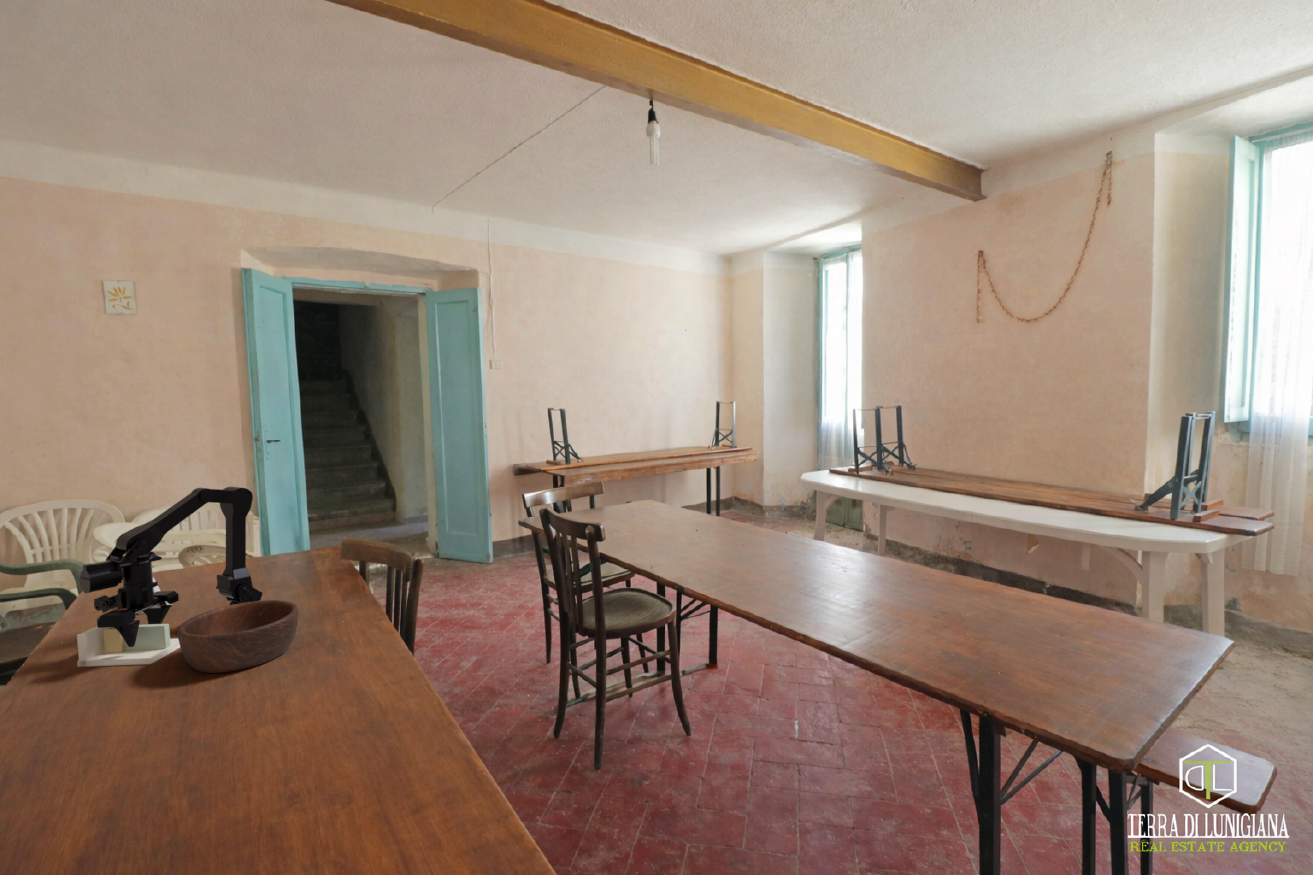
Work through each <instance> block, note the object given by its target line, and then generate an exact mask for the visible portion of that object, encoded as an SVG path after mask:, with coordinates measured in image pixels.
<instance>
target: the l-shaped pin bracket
mask: <svg viewBox="0 0 1313 875" xmlns="http://www.w3.org/2000/svg"><path fill="white" fill-rule="evenodd" d="M107 628H109V627H105V628H98V627H97V625H96V626H94V627H92V628H89V629H87V630H85V631H83V632H80V633H79V634H76V641H77V650H78V651H77V652H78V660H77V661H76V662H77V667H78V668H81V667H84V668H85V667H107V666H111V667H112V666H130V665H131V666H134V665H135V666H136V665H139V666H140V665H151V664H154V663H156V662H157V661H158V660H159V661H160V660H161V659H162V658H163V657H166V656H168V655H169V654H171V653H173V652H175V651H177V650H178V649H179V648H180V649H181V647H180V644H179V640H178V637H177V638H170V644H171V646H170V647H169V648H167V649H152V650H126V651H124V652H122V653H105V646H104V634H103V630H104V629H107Z"/></svg>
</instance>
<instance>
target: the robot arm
mask: <svg viewBox="0 0 1313 875" xmlns="http://www.w3.org/2000/svg"><path fill="white" fill-rule="evenodd" d="M253 500H254V495H253V492H252V491H251V490H250V489H249V488H246V487H239V486H227V487H224V488H223V489H218V488H217V489H216V488H215V489H214V488H208V487H206V488H205V487H196V488H194V489H193V490H192V491H191V492H190V493H188V494H187V495H186V496H185V497H183V498H181V500H179V501H177V502H176V503H175V504H173V505H172V506H170V507H169V508H167V509H166V510H164V511H163V512H161V513H160V514H159V515H158V516H156V517H155V518H154V519H152V520H150V521H148V522H146V523H142V524H140V525H138V526H136V527H133V528H131V529H129V530H128V531H127V530H126V531H125V532H123V533H121V534H120V535H119V536H118V537H117V538H116V542H115V546H114V548H113V549H112V550H111V552H110V553H109V554H108V556H106V558H105V561H100V562H95V563H87V564H86V563H85V564H83V565H82V570H81V571H80V574H79V577H78V582H79V587H80V589H81V590H82V592H83V593H84V594H90V593H93V592H98V591H103V590H109V589H112V588H116V587H118V585H119V584H122V586H121V587H119V588H118V589H117V594H115V595H112V596H108V595H106V594H104V595H102V596H99V597H97V598H94V599H93V606H94V610H96V611H97V612H100V611H101V612H102V614H101V615H99V616H98V618H97V619H96V626H97V627H98V628H105V627H113V628H115V629H117V630H118V631H119V633H120V634H121V635H122V637H123V639H124V640H125V642H126V644H127V645H128V647H133V646H134V645H135V642H136V638H137V633H138V628H139V625H141V624H140V622H141V619H136V615H137V613H139V612H142V611H143V612H144V613H145V614H144V615H146V620H147V624H163V621H164V619H166V618H165V617H166V615H167V614H168V612H169V610H170V609H171V608H172V607H173V604H174V603H177V602H178V601H179V600H180V599H179V593H178V592H177V591H176V590H165V591H164V590H160V591H157V592H155V593H154V588H153V587H156V586H158V587H159V584H158V581H156V582H153V577H154V576H153V575H154V574H153V564H152V562H157V561H161V560H162V559H163V558H162V556H160V555H157V554H156V553H155V551H153V550H154V549H155V548H156V547H157V546H158V545H159V544H160V543H161V542H162V541H163V537H164V536H166V534H167V533H169V532H170V530H172V529H174V528H175V527H176V526H177V525H179V524H181V522H183V521H184V520H186V519H187V518H188V517H190V516H191V515H192V514H194V513H195V512H197V511H198V510H199V509H201V508H202V507H204V506H205V505H206V504H208V503H214V504H215V503H218V504H219V508H220V510H221V512H222V514H223V515H224V518H225V568H224V570H223V572H222V573H220V574H217V575H216V587H215V589H217V590H218V593H219V594H220V595H221V596H222V597H225V599H226V600H227V602H229V605H234V604H239V603H245V602H253V601H262V597H263V592H262V591H260V590H258V589H257V588H255V587H254V586H253V580H252V577H251V574H250V572H249V570H248V568H247V565H246V564H247V562H246V560H247V540H246V538H247V533H246V532H247V523H246V522H247V516H248V515H249V514H250V511H251V508H252V505H253ZM165 601H167V603H169V604H172V605H167V603H166V602H165ZM113 609H114V610H113ZM115 609H116V610H115ZM123 609H124V610H123ZM136 609H137V610H136ZM110 610H111V611H110Z"/></svg>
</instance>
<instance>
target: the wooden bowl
mask: <svg viewBox="0 0 1313 875" xmlns="http://www.w3.org/2000/svg"><path fill="white" fill-rule="evenodd" d="M298 621H299V606H298V604H296V603H294V602H291V601H287V600H282V599H280V600H277V599H270V600H269V599H266V600H265V599H264V600H263V599H262V600H260V601H253V602H245V603H239V604H234V605H230V604H229V605H225V606H221V607H218V608H214V609H210V610H208V611H205V612H202V613H200V614H198V615H194V616H192V617H190V618H189V619H186V620H185V621H184V622H182V623H181V624H180V625H179V626H178V628H177V632H176V635H177V638H178V640H179V644H180V650H181V653H182V655H183V657H184V658H185V661H186V662H187V663H188V664H189V666H191V667H192V668H193V669H195V670H196V671H199V672H201V673H207V674H219V673H220V674H221V673H230V672H237V671H241V670H245V669H249V668H253V667H256V666H259V665H262V664H265V663H267V662H270V661H272V660H274V659H276V658H278V657H279V656H281V655H282V654H284V653H285V652H286V651H287V650H288V649H289V648H290V646H291V644H292V643H293V641H294V639H295V636H296V634H297V628H298Z"/></svg>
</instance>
